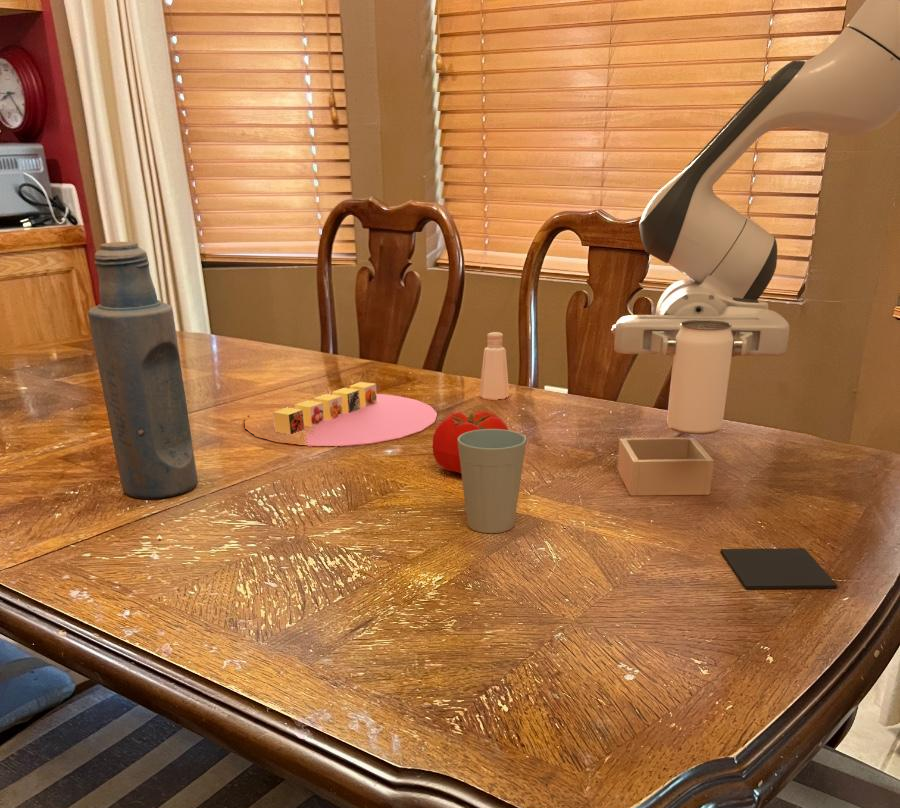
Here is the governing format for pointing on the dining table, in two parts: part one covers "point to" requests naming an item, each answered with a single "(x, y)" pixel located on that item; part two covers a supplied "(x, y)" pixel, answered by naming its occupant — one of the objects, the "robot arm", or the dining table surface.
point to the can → (700, 377)
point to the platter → (355, 417)
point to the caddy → (664, 466)
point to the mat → (777, 569)
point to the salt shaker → (494, 369)
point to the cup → (491, 477)
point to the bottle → (141, 376)
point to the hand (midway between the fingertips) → (704, 348)
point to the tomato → (453, 428)
